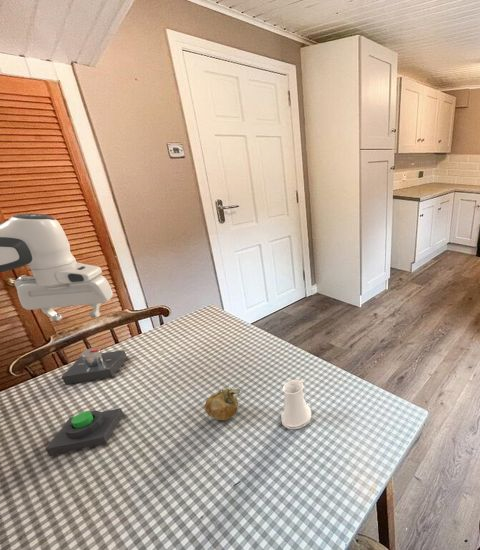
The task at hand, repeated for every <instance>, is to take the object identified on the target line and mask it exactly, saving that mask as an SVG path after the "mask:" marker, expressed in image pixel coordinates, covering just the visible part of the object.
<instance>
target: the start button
mask: <svg viewBox="0 0 480 550" xmlns="http://www.w3.org/2000/svg"><path fill="white" fill-rule="evenodd" d="M90 411H91V410H87V411H82V412H80V413H79V412H78V414H76V415H75V416H72V417H73V419H72V420H71V423H72V425H73V427H74V428H75V429H79V428H82V427H84V426H87V425H88V424H90V423H91V422H92V421H93V419H94V418H93V416H92V413H91V412H90Z"/></svg>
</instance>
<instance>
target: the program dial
mask: <svg viewBox="0 0 480 550" xmlns="http://www.w3.org/2000/svg"><path fill="white" fill-rule="evenodd" d="M102 353H103V352H102V350H101V348H100V347H98V346H97V347H89V348H88V349H85V350H84V351H82V352H81V353H80V357H81V356H82V359H83V361H84V363H85V365H86V366H87V367H91V366H95V365H98V364H100V363H101V362H103V360H104V358H103V356H102Z"/></svg>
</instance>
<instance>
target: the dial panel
mask: <svg viewBox="0 0 480 550" xmlns="http://www.w3.org/2000/svg"><path fill="white" fill-rule="evenodd" d="M101 353H102V356H103V358H104V360H103V362H101V363H100V364H98V365H95V366H91V367H87V366H86V365H85V363H84V361H83V359H82V356H81V355H80V356H79V358H78V359H77V360H75V362H74V363H73V364H72V365H71V366H70V367H69V368H68V369H67V370H66V371H65V372H64V373H63V374H62V375H61V379H62V381H63V383H64V385H65V386H66V385H71V384H72V385H73V384H79V383H83V382H90V381H96V380H102V379H109V378H114V377H115V375H116V374H117V373H118V371H119V370H120V368H121V367H122V365H123V364H124V363H125V361H126V360H127V358H128V356H127V353H126V350H125V349H120V350H115V351H107V352H101Z"/></svg>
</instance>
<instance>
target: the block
mask: <svg viewBox="0 0 480 550" xmlns="http://www.w3.org/2000/svg"><path fill="white" fill-rule="evenodd" d="M89 411H90V412H91V413H92V416H93V418H94V419H93V421H92V422H91V423H90V424H88V425H87V426H84V427H82V428H79V429H75V428H74V427H73V425H72V423H71V420H72V419H73V417H74V416H71V417H69V418H68V420H66V422H65V423H64V424H63V426H62V427H61V428H60V429H59V431H58V432H57V434H55V436H54V437H53V438H52V440H51V441H50V443H49V444H48V445H47V447H46V448H45V450H46V453H47V454H48V456H55V455H59V454H64V453H69V452H74V451H78V450H82V449H88V448H93V447H97V446H102V445H107V444H108V442H109V440H110V438H111V437H112V435H113V433H114V431H115V430H116V428H117V426H118V425H119V423H120V421H121V420H122V417H123V416H124V412H123V409H122V408H121V407H119V408H114V409H108V410H103V411H99V410H95V409H94V410H89Z"/></svg>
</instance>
